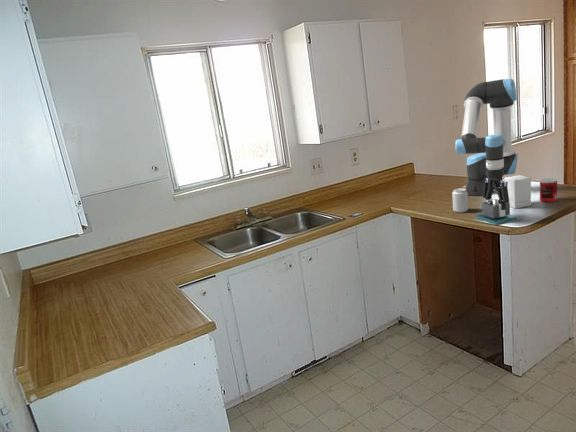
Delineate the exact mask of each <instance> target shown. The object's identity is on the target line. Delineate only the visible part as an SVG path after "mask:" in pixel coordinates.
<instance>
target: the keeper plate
mask: <svg viewBox="0 0 576 432" xmlns="http://www.w3.org/2000/svg"><path fill="white" fill-rule="evenodd" d="M498 200H499V199H492V201H493V205H496V204H498ZM475 219H478V220H480V221H482V222H485V223H488V224H492V225H495V226H497V225H501V223H502V224H505V222H506V223H510V222H513V220H514V221H517V220H518V216H516V215H513V214H510V215H506V216H502V217H498V218H491V217H488V216H485V215H482V213H480V214H476V215H475ZM509 221H510V222H509Z"/></svg>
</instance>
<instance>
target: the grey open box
mask: <svg viewBox="0 0 576 432" xmlns="http://www.w3.org/2000/svg"><path fill="white" fill-rule="evenodd" d="M497 200H498V204H496V205H493V200H492V201H489V202H486V201H485V202H482V203H481V210H482V211H481V212H482V213H481V214H482V215H485V216H488V217H491V218H498V217H499V203H500V200H499V199H497ZM510 210H511V207H510V203H509V202H508V203H506V210H505V216H506V215H511V211H510Z"/></svg>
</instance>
